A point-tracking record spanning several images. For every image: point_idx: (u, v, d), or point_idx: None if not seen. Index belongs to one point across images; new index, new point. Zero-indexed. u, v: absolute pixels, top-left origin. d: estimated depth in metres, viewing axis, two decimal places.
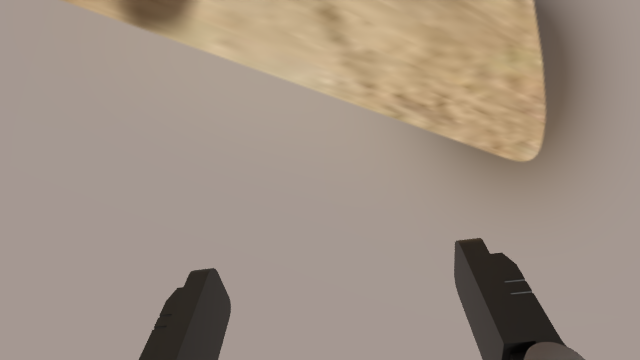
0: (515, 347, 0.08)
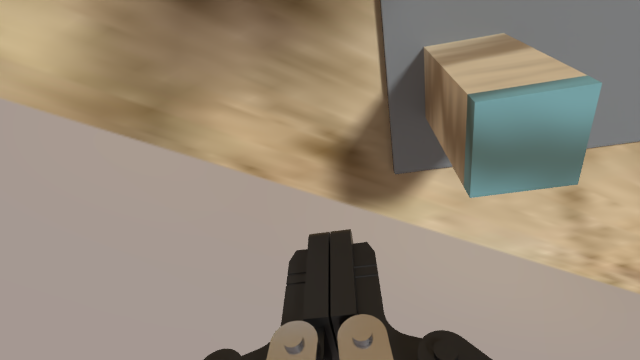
0: (341, 319, 0.10)
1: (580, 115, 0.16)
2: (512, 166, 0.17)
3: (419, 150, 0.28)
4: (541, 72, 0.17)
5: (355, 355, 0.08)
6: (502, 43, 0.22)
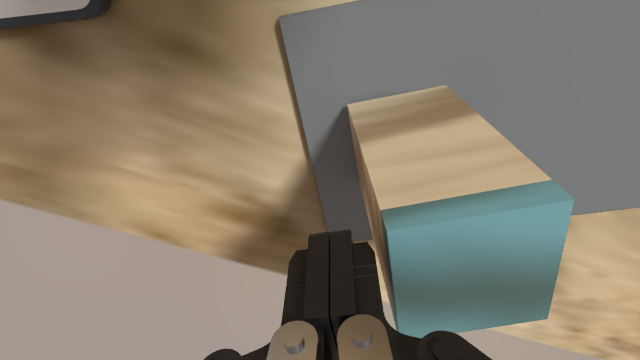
0: (341, 319, 0.10)
1: (545, 240, 0.10)
2: (454, 304, 0.12)
3: (356, 218, 0.23)
4: (488, 168, 0.12)
5: (355, 355, 0.08)
6: (442, 103, 0.16)
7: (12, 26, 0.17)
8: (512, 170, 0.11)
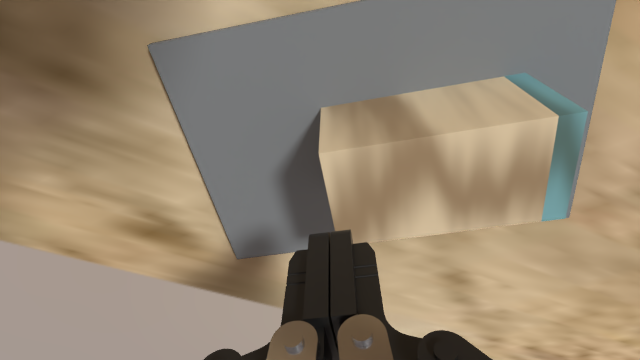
0: (341, 319, 0.10)
1: None
2: None
3: (257, 234, 0.23)
4: (489, 89, 0.17)
5: (355, 355, 0.08)
6: (363, 107, 0.18)
7: None
8: (492, 84, 0.17)
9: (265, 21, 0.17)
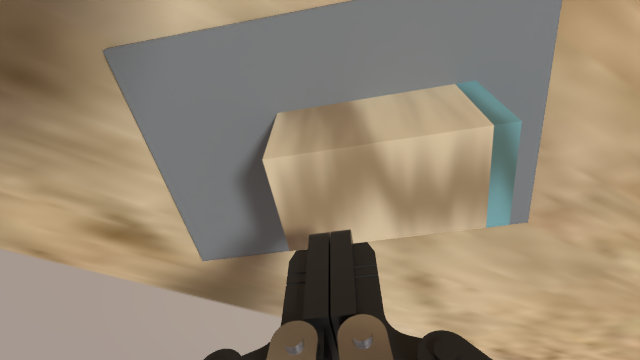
0: (341, 319, 0.10)
1: None
2: None
3: (222, 236, 0.24)
4: (438, 96, 0.17)
5: (355, 355, 0.08)
6: (317, 113, 0.18)
7: None
8: (442, 91, 0.17)
9: (218, 28, 0.17)
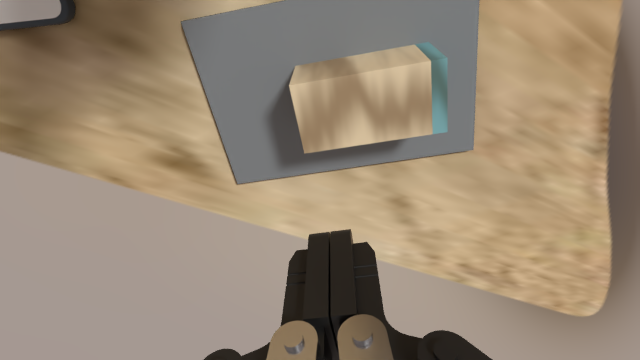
0: (341, 320, 0.10)
1: None
2: None
3: (252, 163, 0.32)
4: (402, 51, 0.26)
5: (355, 355, 0.08)
6: (322, 64, 0.27)
7: (10, 28, 0.27)
8: (405, 48, 0.26)
9: (258, 6, 0.26)
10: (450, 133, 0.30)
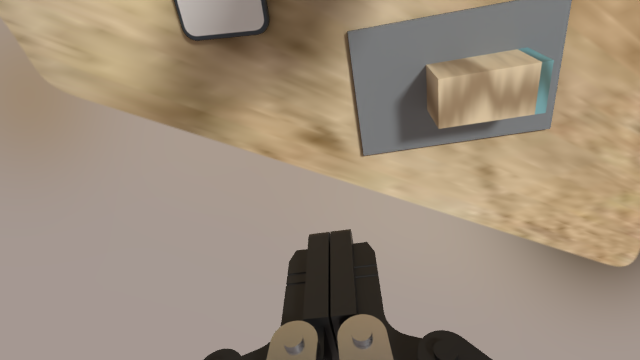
0: (341, 319, 0.10)
1: None
2: None
3: (378, 139, 0.42)
4: (510, 54, 0.36)
5: (355, 355, 0.08)
6: (449, 63, 0.37)
7: (221, 37, 0.36)
8: (512, 52, 0.36)
9: (406, 21, 0.35)
10: (534, 115, 0.40)
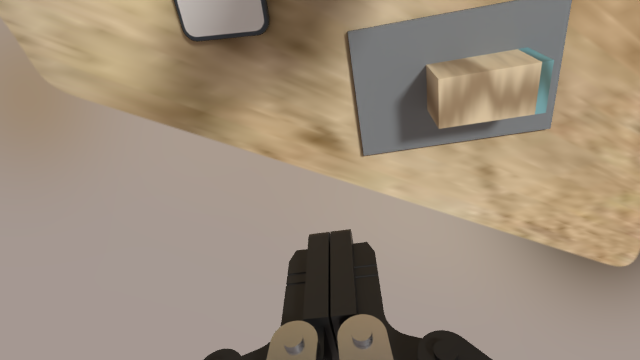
0: (341, 320, 0.10)
1: None
2: None
3: (379, 139, 0.42)
4: (511, 54, 0.36)
5: (355, 355, 0.08)
6: (449, 63, 0.37)
7: (221, 38, 0.36)
8: (512, 52, 0.36)
9: (406, 21, 0.35)
10: (534, 115, 0.40)
